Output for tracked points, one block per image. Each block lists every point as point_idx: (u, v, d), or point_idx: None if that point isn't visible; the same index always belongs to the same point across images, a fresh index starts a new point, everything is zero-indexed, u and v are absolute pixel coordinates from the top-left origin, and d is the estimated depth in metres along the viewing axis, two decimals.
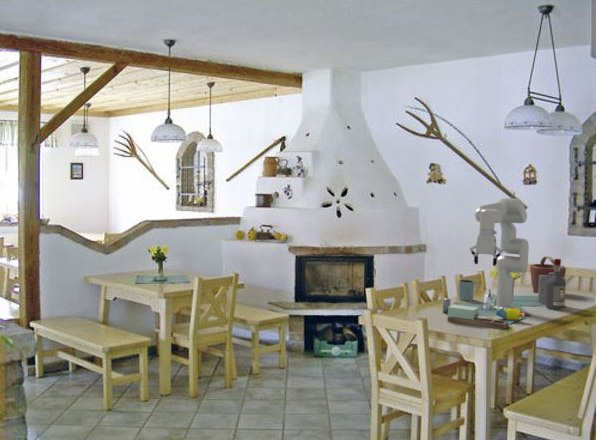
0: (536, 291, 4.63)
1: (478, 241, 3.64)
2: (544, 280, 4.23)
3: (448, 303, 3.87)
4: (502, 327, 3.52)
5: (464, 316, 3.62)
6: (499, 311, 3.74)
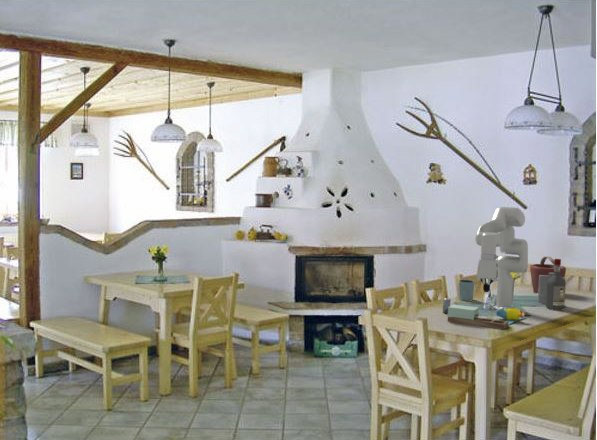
0: (536, 291, 4.63)
1: (479, 265, 3.58)
2: (544, 280, 4.23)
3: (448, 303, 3.87)
4: (502, 327, 3.52)
5: (464, 316, 3.62)
6: (499, 311, 3.74)
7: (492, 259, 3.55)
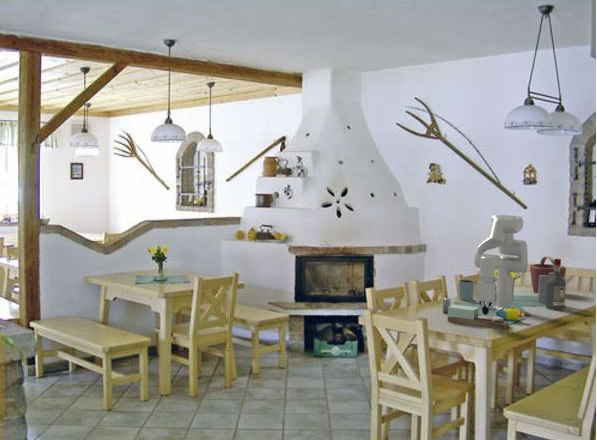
0: (536, 291, 4.63)
1: (478, 288, 3.59)
2: (544, 280, 4.23)
3: (448, 303, 3.87)
4: (502, 327, 3.52)
5: (464, 316, 3.62)
6: (499, 311, 3.73)
7: (491, 282, 3.56)
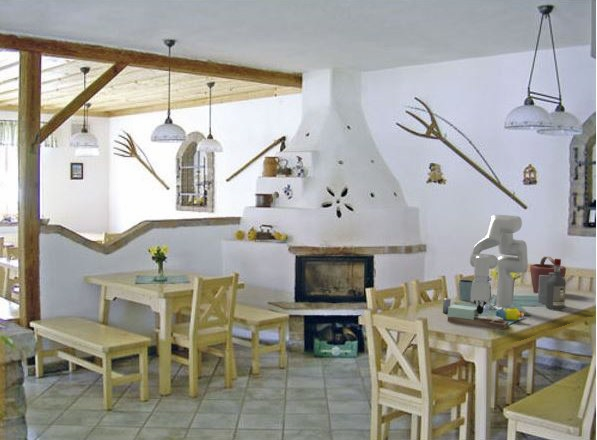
0: (536, 291, 4.63)
1: (473, 288, 3.61)
2: (544, 280, 4.23)
3: (448, 303, 3.87)
4: (502, 327, 3.52)
5: (464, 316, 3.62)
6: (498, 311, 3.73)
7: (485, 281, 3.57)
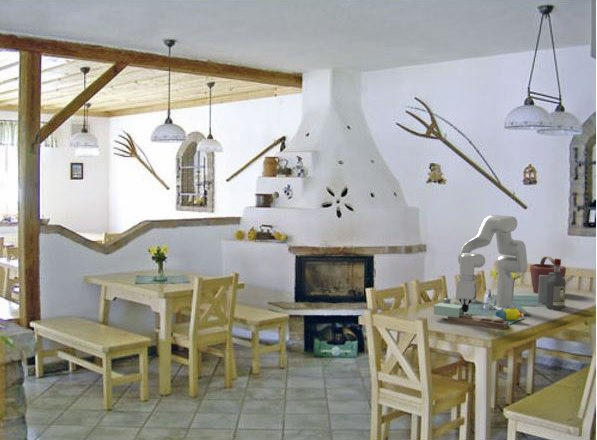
0: (536, 291, 4.63)
1: (458, 286, 3.65)
2: (544, 280, 4.23)
3: (448, 303, 3.87)
4: (502, 327, 3.52)
5: (450, 314, 3.66)
6: (498, 312, 3.73)
7: (470, 280, 3.61)
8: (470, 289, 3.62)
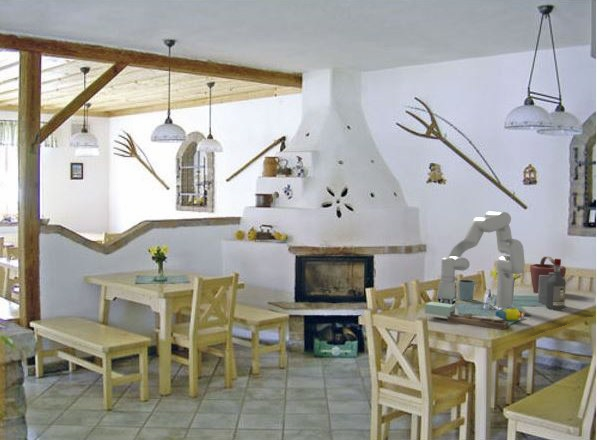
0: (536, 291, 4.63)
1: (440, 287, 3.88)
2: (544, 280, 4.23)
3: (448, 303, 3.87)
4: (502, 327, 3.52)
5: (441, 313, 3.68)
6: (498, 312, 3.72)
7: (451, 281, 3.84)
8: (451, 290, 3.85)
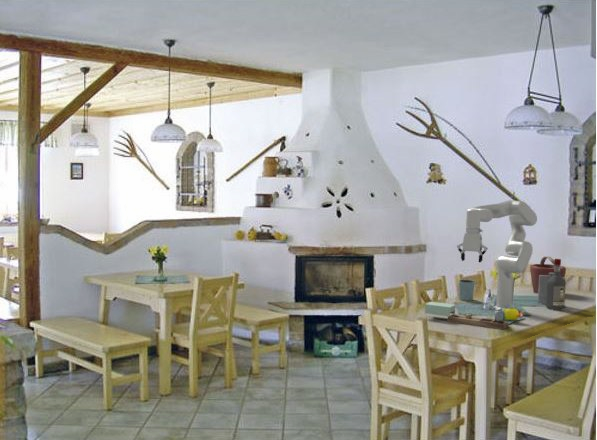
0: (536, 291, 4.63)
1: (465, 239, 3.83)
2: (544, 280, 4.23)
3: (500, 316, 3.55)
4: (502, 327, 3.52)
5: (441, 313, 3.68)
6: None
7: (476, 233, 3.80)
8: (476, 241, 3.80)
